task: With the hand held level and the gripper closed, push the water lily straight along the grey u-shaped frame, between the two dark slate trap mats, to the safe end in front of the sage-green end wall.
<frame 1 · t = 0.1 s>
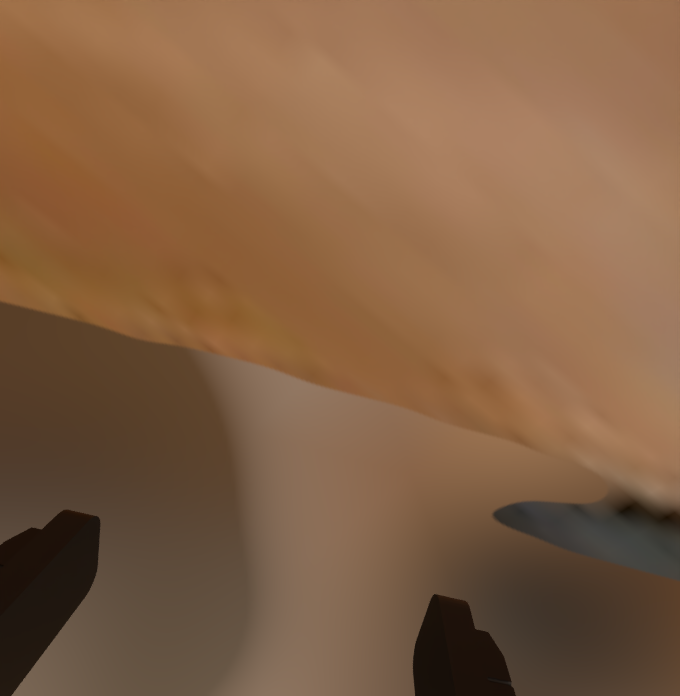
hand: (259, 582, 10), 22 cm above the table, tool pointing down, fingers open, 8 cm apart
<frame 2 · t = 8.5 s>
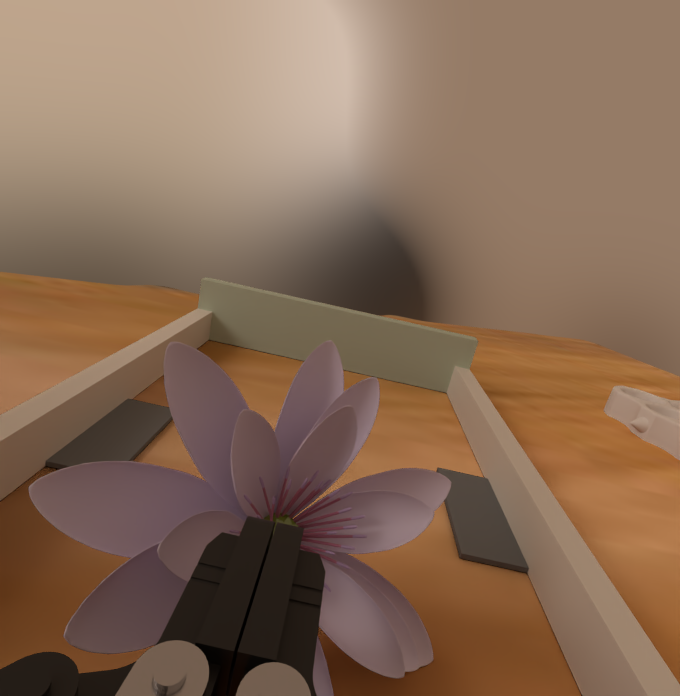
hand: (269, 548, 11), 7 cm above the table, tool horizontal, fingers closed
grey u-shaped frame: (298, 475, 26), on the table
water lily: (260, 668, 15), on the table, touching gripper
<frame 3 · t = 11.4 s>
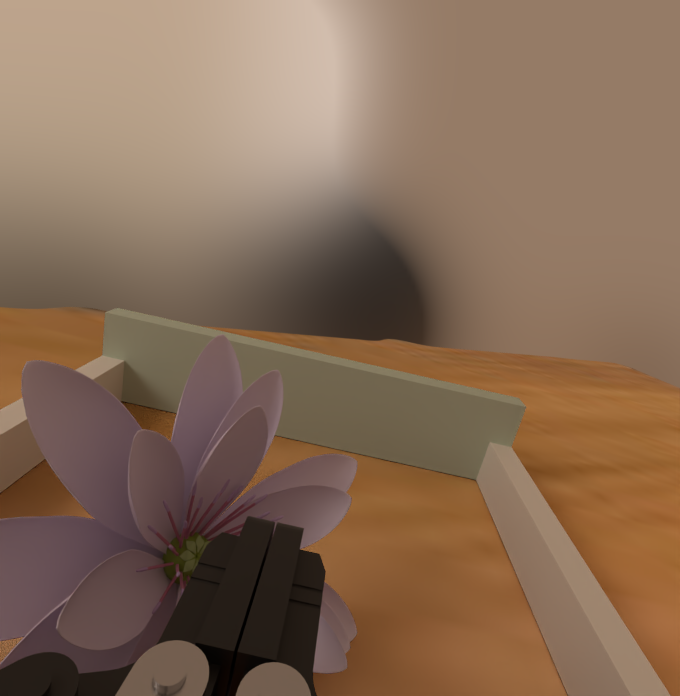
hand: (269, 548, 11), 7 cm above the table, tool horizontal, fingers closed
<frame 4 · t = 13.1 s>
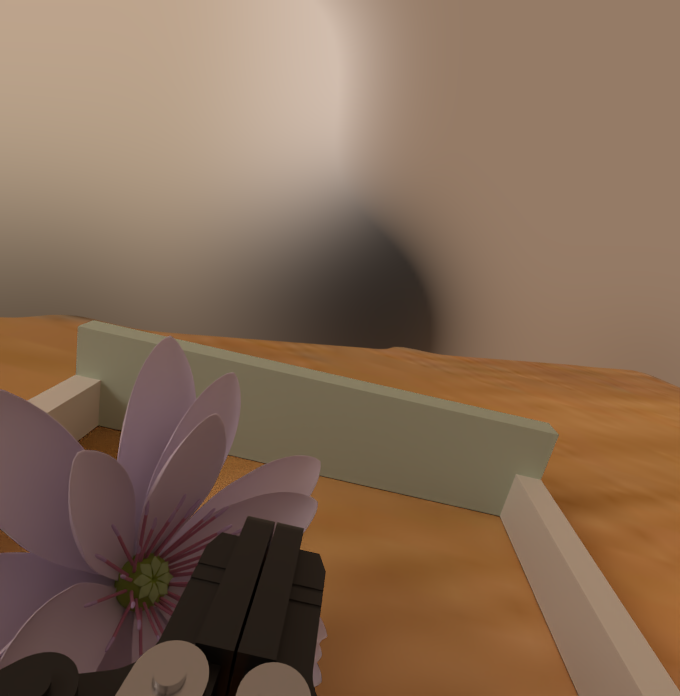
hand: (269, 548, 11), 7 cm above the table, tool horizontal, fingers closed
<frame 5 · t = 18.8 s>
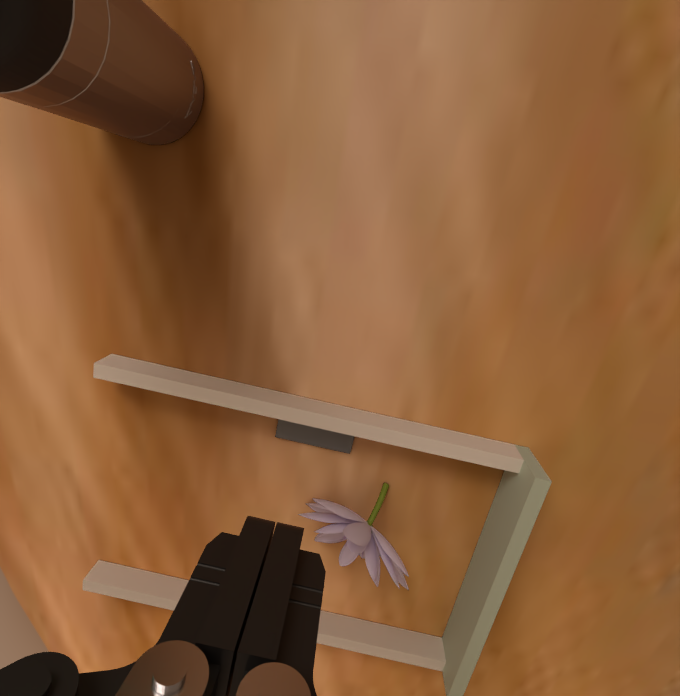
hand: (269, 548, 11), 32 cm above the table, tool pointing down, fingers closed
grey u-shaped frame: (297, 514, 49), on the table
water lily: (352, 508, 49), on the table
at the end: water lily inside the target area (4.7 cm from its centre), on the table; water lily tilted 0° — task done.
